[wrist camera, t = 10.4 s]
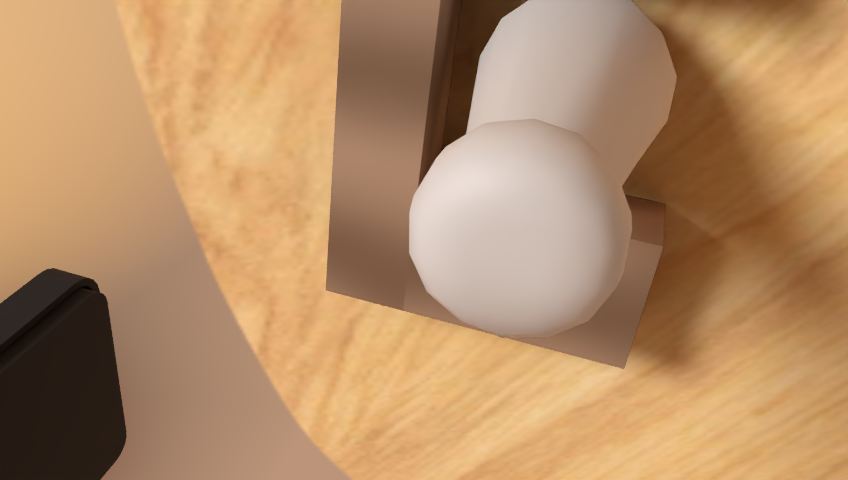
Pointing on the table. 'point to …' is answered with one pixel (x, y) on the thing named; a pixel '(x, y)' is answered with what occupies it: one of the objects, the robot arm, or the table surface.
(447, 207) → the salt shaker
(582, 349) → the notched board
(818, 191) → the table surface
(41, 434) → the robot arm
